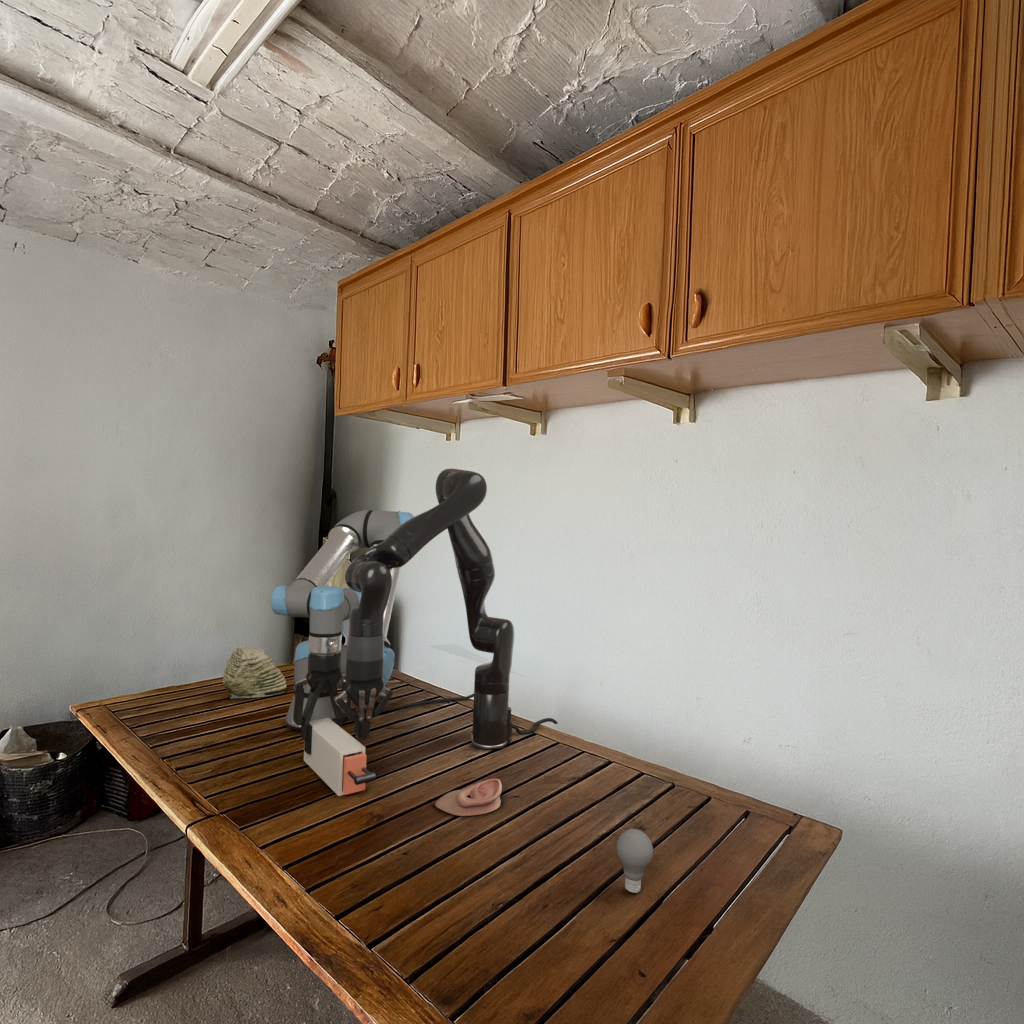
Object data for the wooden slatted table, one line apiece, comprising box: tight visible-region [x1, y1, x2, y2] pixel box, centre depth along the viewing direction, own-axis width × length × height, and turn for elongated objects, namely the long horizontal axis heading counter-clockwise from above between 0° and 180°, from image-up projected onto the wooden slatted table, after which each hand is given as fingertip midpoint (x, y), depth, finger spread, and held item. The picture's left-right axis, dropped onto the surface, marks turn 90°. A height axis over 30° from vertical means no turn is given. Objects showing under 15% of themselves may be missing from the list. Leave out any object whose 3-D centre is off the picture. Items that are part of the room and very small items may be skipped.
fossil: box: [222, 646, 288, 699], centre depth 198 cm, size 9×18×15 cm, turn 132°
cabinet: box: [303, 718, 367, 797], centre depth 145 cm, size 22×6×9 cm, turn 38°
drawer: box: [342, 752, 377, 796], centre depth 141 cm, size 26×5×8 cm, turn 37°
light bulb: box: [615, 828, 654, 894], centre depth 106 cm, size 6×6×10 cm
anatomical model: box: [434, 778, 503, 817], centre depth 133 cm, size 13×4×12 cm
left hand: (321, 749), depth 150 cm, fingers closed on cabinet, 6 cm apart
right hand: (362, 737), depth 133 cm, fingers closed
